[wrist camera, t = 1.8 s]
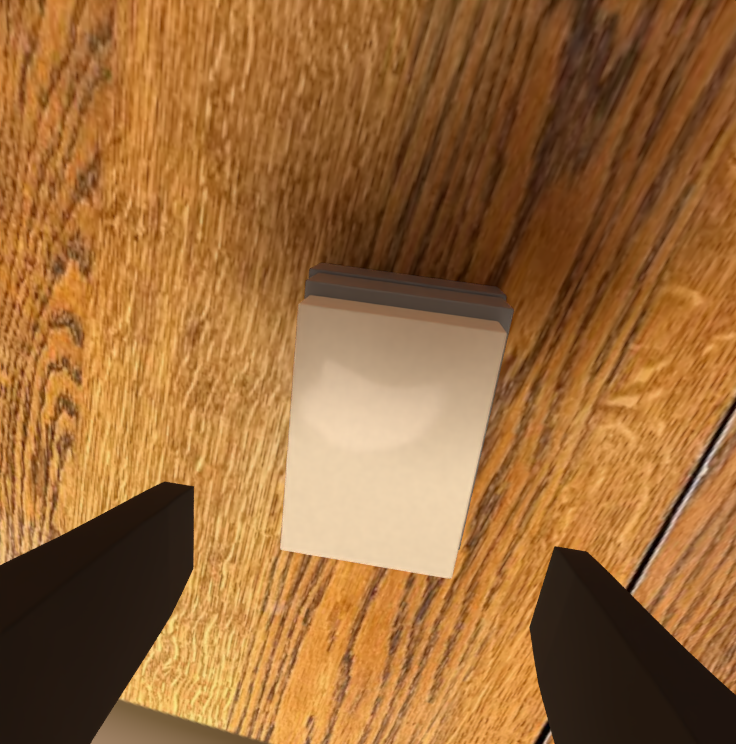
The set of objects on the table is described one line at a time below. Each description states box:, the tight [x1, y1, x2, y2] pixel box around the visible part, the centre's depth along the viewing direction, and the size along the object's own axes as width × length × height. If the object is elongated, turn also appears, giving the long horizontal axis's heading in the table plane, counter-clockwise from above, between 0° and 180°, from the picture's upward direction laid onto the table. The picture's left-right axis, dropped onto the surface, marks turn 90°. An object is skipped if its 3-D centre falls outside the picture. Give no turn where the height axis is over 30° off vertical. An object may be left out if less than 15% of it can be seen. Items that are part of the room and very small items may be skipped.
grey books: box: [304, 263, 514, 550], centre depth 17 cm, size 9×6×4 cm
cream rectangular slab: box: [280, 295, 507, 579], centre depth 14 cm, size 8×6×1 cm
